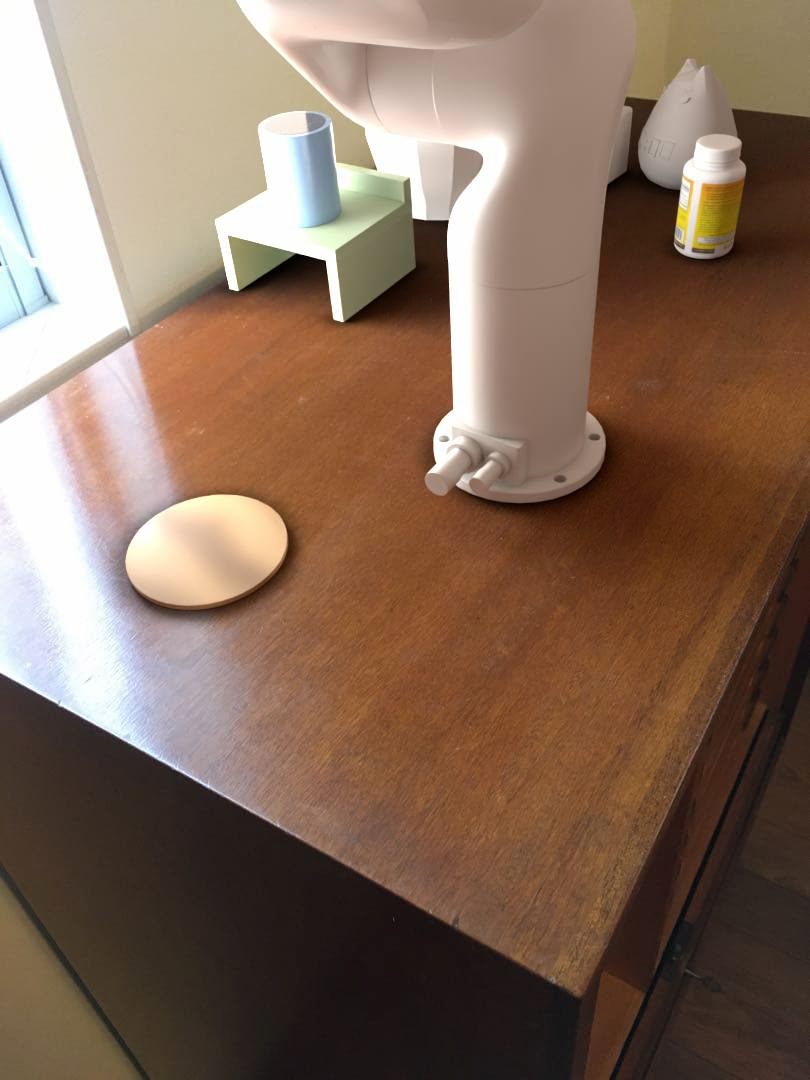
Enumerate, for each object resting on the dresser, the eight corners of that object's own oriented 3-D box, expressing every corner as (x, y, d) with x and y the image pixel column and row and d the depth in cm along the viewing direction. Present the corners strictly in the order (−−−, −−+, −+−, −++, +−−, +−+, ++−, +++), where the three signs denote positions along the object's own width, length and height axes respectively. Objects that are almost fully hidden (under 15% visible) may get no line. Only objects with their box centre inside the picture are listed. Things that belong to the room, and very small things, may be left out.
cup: (313, 233, 83) (300, 141, 78) (258, 220, 86) (242, 130, 80) (355, 206, 87) (346, 116, 81) (301, 194, 90) (289, 106, 84)
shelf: (343, 322, 85) (332, 228, 79) (229, 288, 91) (210, 198, 85) (416, 267, 92) (410, 176, 86) (305, 239, 98) (292, 153, 92)
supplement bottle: (743, 247, 91) (764, 140, 84) (707, 267, 88) (726, 158, 81) (696, 230, 94) (713, 125, 87) (660, 249, 92) (674, 142, 85)
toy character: (616, 172, 106) (627, 57, 98) (696, 154, 108) (713, 41, 100) (666, 205, 99) (682, 85, 91) (750, 185, 101) (773, 66, 93)
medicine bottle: (573, 160, 109) (579, 48, 101) (627, 172, 106) (639, 57, 98) (539, 181, 105) (543, 67, 97) (594, 194, 102) (603, 77, 94)
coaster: (213, 634, 58) (211, 630, 58) (92, 571, 63) (90, 567, 63) (320, 530, 64) (320, 526, 64) (204, 481, 69) (202, 476, 69)
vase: (510, 182, 106) (513, -79, 89) (487, 238, 96) (486, -44, 79) (389, 178, 109) (370, -75, 92) (355, 231, 99) (326, -41, 82)
